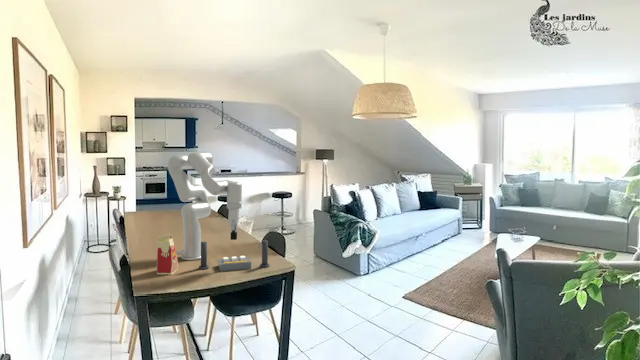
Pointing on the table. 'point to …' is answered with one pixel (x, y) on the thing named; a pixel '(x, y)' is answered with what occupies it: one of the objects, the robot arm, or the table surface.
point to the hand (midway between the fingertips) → (233, 239)
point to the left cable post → (203, 256)
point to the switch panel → (234, 263)
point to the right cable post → (264, 254)
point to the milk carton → (166, 255)
